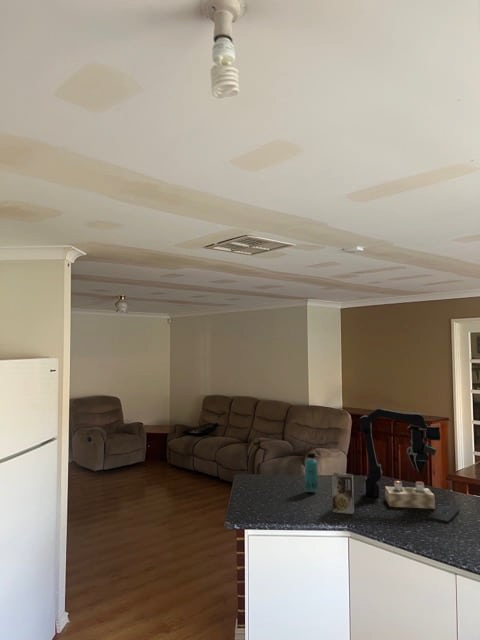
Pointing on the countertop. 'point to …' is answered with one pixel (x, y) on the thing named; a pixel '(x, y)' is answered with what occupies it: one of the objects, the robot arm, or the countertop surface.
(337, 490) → the coffee box
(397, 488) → the steel peg
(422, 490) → the steel peg
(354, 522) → the countertop surface
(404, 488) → the birch block
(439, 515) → the smart home device
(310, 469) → the beverage bottle
